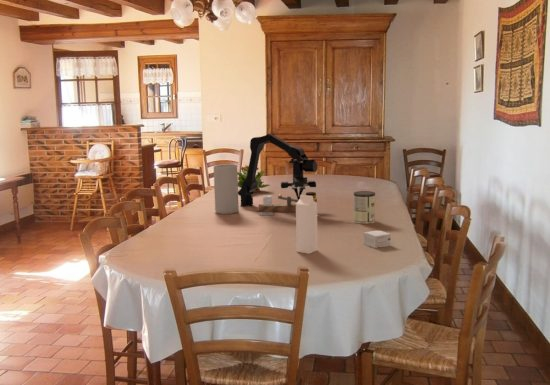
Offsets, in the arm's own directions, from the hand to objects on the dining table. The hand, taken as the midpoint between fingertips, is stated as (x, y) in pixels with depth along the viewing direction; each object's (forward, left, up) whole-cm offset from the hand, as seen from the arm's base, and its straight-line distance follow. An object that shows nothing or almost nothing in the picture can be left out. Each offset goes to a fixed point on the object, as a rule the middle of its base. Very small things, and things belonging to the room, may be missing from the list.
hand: (298, 200), depth 288 cm
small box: (+26, -75, -6) cm, 80 cm away
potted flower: (-26, +67, -6) cm, 72 cm away
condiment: (+4, -16, -6) cm, 17 cm away
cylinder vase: (-39, -1, -6) cm, 39 cm away
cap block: (-17, 0, -2) cm, 17 cm away
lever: (-5, 0, +1) cm, 5 cm away
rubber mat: (-18, -9, -5) cm, 21 cm away
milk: (-3, -82, -6) cm, 82 cm away
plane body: (-12, 0, -5) cm, 13 cm away
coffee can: (+29, -32, -6) cm, 44 cm away
